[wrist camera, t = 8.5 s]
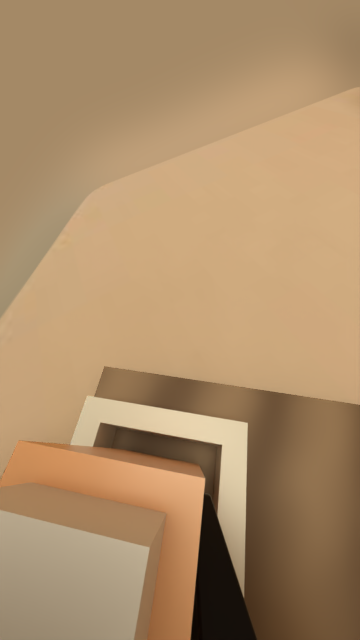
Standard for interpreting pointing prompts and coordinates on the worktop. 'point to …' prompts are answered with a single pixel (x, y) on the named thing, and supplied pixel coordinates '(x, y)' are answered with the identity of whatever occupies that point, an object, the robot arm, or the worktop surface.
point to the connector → (98, 544)
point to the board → (275, 495)
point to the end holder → (223, 433)
